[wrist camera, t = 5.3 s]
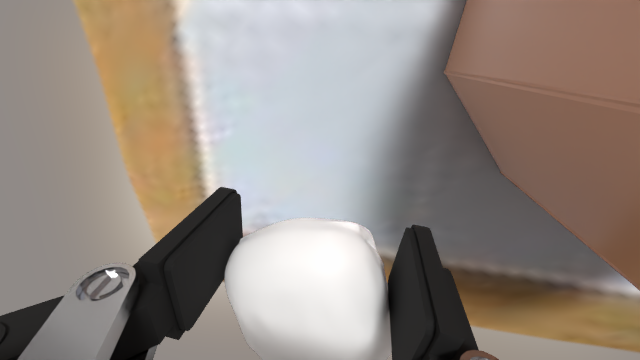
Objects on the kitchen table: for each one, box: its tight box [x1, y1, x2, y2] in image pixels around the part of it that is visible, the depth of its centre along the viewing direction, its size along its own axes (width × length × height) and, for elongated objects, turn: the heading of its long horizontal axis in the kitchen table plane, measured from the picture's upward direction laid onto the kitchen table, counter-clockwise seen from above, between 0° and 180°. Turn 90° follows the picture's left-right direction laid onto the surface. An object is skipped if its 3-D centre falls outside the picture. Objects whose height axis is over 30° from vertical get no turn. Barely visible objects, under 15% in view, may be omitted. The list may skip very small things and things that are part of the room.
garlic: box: [225, 218, 392, 360], centre depth 10 cm, size 8×7×4 cm
